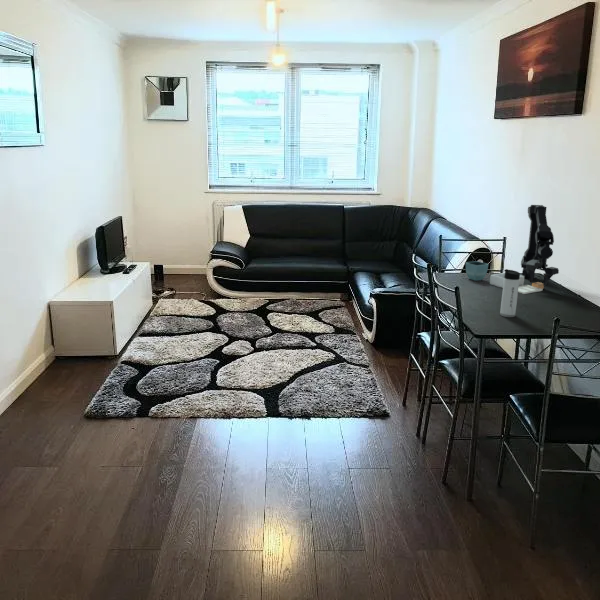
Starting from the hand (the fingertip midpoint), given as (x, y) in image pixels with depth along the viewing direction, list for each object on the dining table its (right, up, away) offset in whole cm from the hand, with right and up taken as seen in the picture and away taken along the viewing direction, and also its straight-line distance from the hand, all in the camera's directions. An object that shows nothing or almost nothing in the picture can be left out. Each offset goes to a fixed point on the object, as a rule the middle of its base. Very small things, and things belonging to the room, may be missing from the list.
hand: (537, 284), depth 315 cm
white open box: (-14, 0, +6) cm, 15 cm away
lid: (-6, -3, -3) cm, 7 cm away
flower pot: (-27, +3, +16) cm, 32 cm away
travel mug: (-31, -15, -47) cm, 58 cm away
